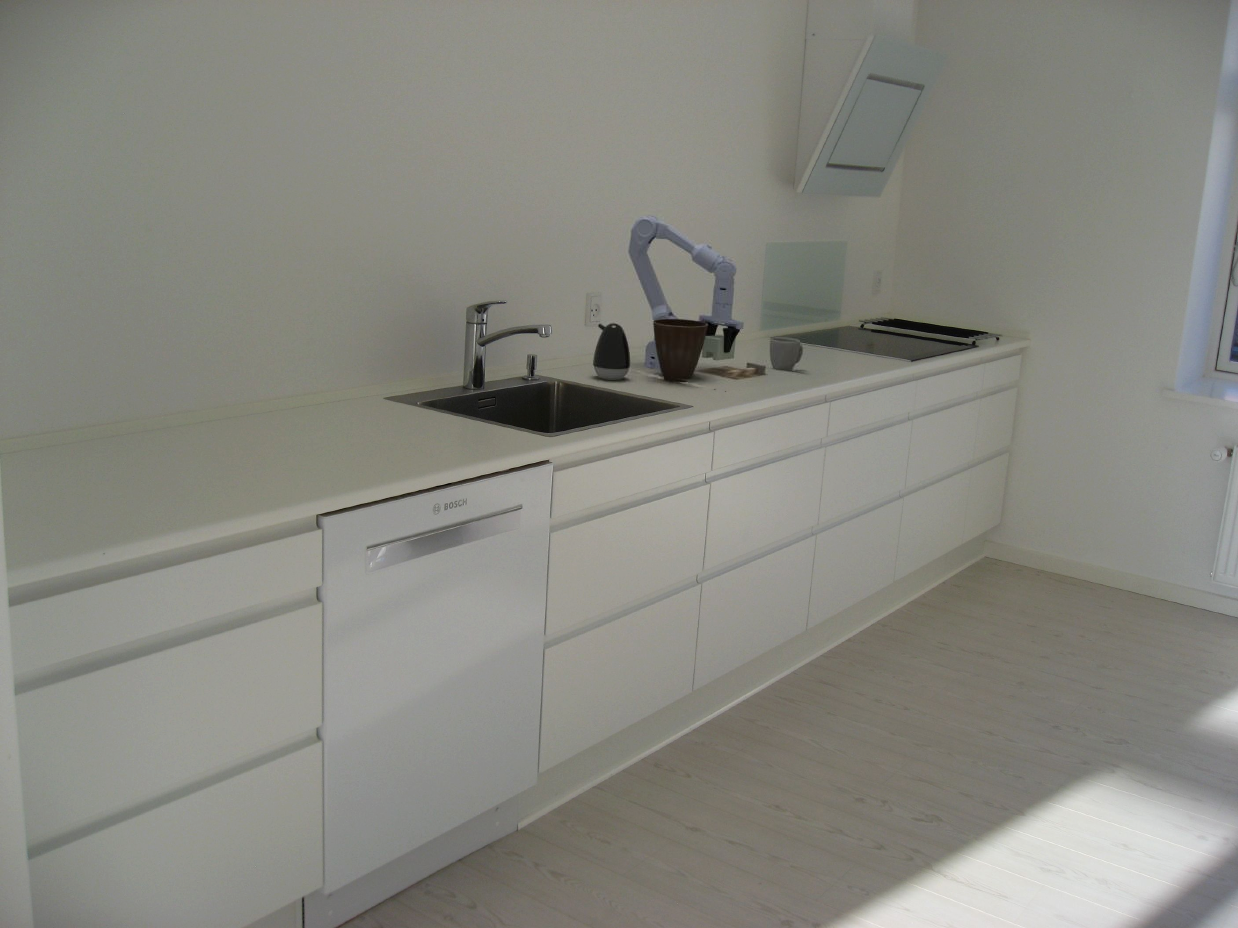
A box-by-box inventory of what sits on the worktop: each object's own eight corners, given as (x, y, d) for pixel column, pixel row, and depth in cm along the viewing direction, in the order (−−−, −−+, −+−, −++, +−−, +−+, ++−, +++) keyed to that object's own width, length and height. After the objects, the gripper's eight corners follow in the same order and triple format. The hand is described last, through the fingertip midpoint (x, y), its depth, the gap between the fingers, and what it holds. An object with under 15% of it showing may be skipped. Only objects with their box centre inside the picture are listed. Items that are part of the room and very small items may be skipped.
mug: (782, 375, 328) (786, 342, 326) (761, 370, 335) (764, 338, 332) (810, 372, 336) (814, 340, 333) (789, 367, 342) (792, 336, 340)
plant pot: (658, 385, 302) (662, 326, 298) (642, 374, 316) (646, 317, 312) (710, 385, 306) (715, 327, 302) (692, 375, 320) (697, 319, 316)
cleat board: (735, 383, 312) (736, 370, 311) (693, 374, 321) (694, 362, 320) (767, 378, 322) (768, 366, 321) (725, 369, 332) (726, 357, 331)
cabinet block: (716, 360, 317) (718, 339, 315) (701, 357, 320) (703, 336, 319) (733, 358, 322) (735, 337, 321) (718, 355, 326) (720, 334, 324)
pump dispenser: (607, 373, 314) (611, 319, 310) (636, 379, 308) (640, 324, 304) (583, 377, 306) (586, 322, 303) (613, 383, 300) (616, 327, 296)
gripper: (751, 306, 316) (747, 353, 319) (711, 299, 325) (707, 345, 328) (736, 307, 310) (732, 355, 314) (695, 300, 320) (691, 347, 323)
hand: (718, 350), depth 321 cm, fingers closed on cabinet block, 5 cm apart
